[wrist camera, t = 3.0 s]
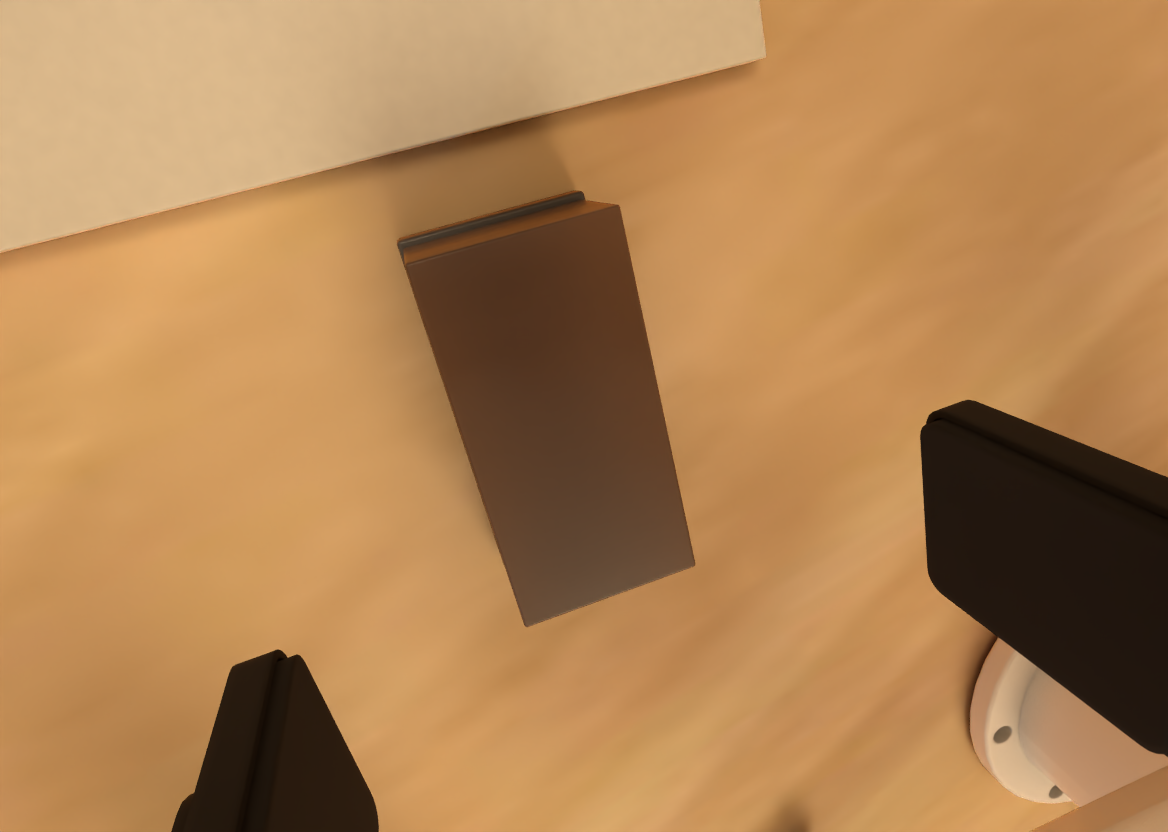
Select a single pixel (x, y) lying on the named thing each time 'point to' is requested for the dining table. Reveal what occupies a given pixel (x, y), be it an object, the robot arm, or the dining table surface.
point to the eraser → (554, 397)
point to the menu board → (302, 88)
